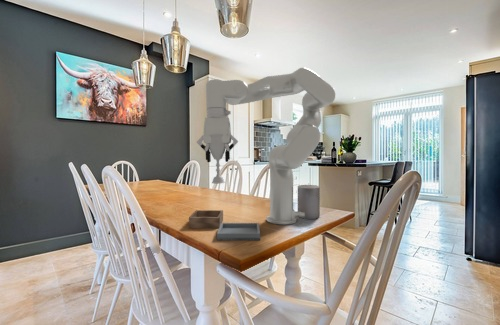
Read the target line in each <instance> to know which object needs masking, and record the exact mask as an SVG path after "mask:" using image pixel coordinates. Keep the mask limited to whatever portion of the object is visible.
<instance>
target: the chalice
mask: <svg viewBox="0 0 500 325" xmlns="http://www.w3.org/2000/svg"><path fill="white" fill-rule="evenodd" d="M209 136H210V137H211V143H210V146H209V150H210V152H211V156H212V158H213V159H214V160H215V161H216V163H215V166H216V169H215V172H216V175H215V176H214V177H213V178H212V182H211V184H225V183H226V182H225V179H224V177H223V176H221V175H220V172H221V169H220V166H221V164H220V161H221V160H222V159H223V156H225V152H226V148H225V145H224V144H223V142H222V136H223V135H209Z"/></svg>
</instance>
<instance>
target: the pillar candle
mask: <svg viewBox="0 0 500 325" xmlns="http://www.w3.org/2000/svg"><path fill="white" fill-rule="evenodd" d="M320 190H321V189H320V186H319V185H315V184H314V185H313V184H310V183H308V184H301V185H300V184H299V185H297V211H300V212H304V213H305V217H299V218H301V219H304V218H305V220H315V219H316V218H317V219H319V218H320V216H321V214H320V212H321V211H320V209H321V208H320V206H321V205H320V200H321V199H320V197H321V196H320V192H321V191H320ZM317 219H316V220H317Z"/></svg>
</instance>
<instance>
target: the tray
mask: <svg viewBox="0 0 500 325" xmlns="http://www.w3.org/2000/svg"><path fill="white" fill-rule="evenodd" d="M216 241H261V229H260V223H259V222H222V223H221V225H220V227H219V228H218V230H217V233H216Z"/></svg>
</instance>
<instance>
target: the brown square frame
mask: <svg viewBox="0 0 500 325" xmlns="http://www.w3.org/2000/svg"><path fill="white" fill-rule="evenodd" d="M223 221H224V210H223V209H222V210H221V209H220V210H213V209H212V210H206V209H202V210H201V209H200V210H197V209H196V210H195V211H193V213H192V214H191V215H190V216H189V217H188V229H219V227H220V225H221V223H223Z"/></svg>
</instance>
